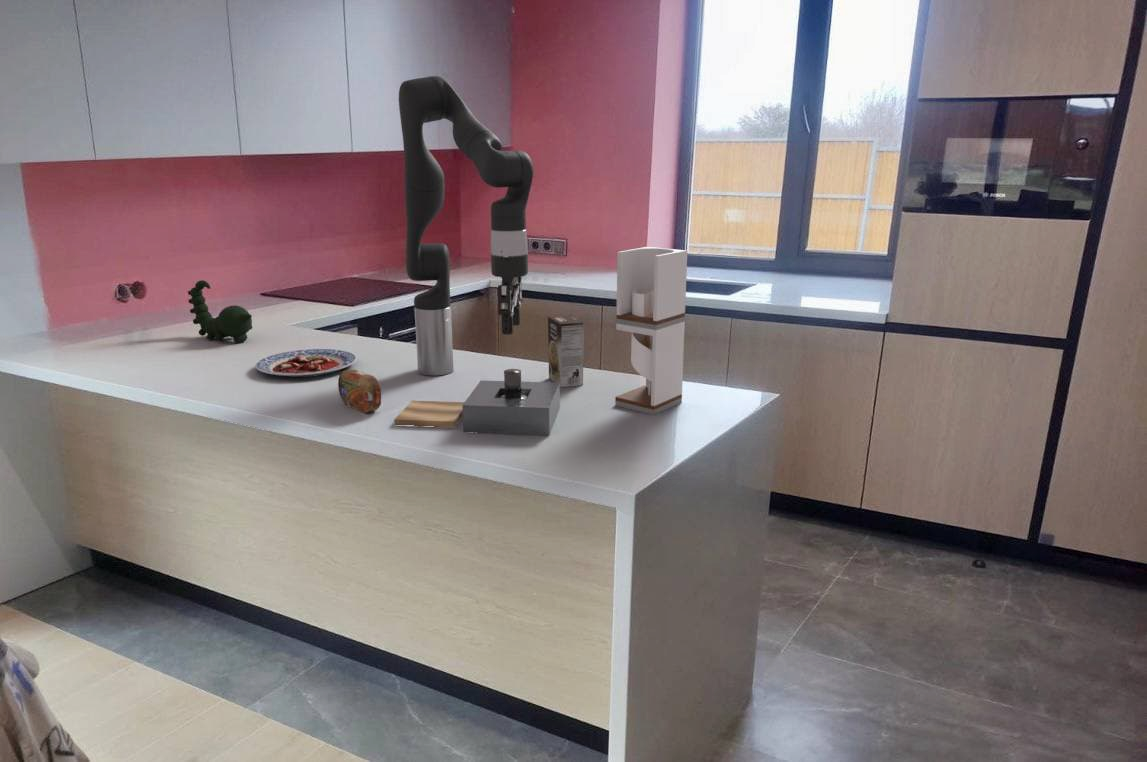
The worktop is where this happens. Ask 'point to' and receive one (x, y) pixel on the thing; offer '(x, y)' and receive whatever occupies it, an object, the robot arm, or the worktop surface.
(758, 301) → the worktop surface
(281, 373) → the ceramic plate
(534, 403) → the housing
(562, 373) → the coffee box
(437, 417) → the oak pad
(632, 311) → the white shelf stand
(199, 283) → the toy figurine
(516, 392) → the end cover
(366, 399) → the tin
